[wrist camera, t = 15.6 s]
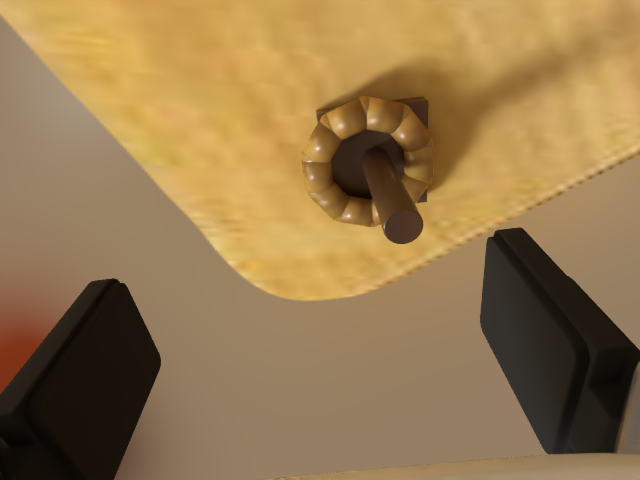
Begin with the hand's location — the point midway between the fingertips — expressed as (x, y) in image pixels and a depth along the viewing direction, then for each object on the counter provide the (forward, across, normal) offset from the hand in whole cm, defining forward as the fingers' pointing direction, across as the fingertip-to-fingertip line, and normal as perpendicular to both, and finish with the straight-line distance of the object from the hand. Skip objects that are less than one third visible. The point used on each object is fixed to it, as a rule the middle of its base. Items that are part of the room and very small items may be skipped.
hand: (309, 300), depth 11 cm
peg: (+26, -5, +6) cm, 27 cm away
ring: (+24, -4, +6) cm, 25 cm away
